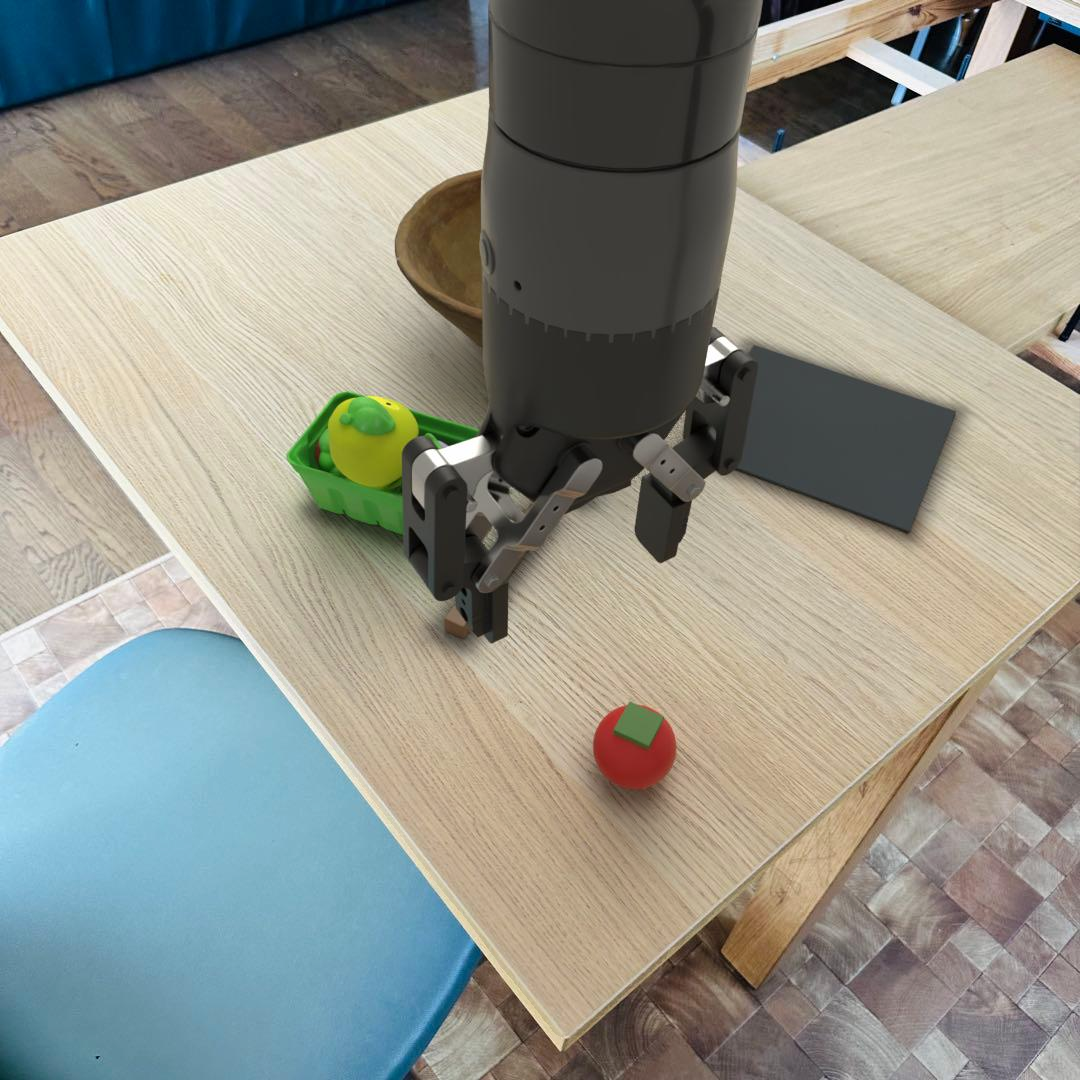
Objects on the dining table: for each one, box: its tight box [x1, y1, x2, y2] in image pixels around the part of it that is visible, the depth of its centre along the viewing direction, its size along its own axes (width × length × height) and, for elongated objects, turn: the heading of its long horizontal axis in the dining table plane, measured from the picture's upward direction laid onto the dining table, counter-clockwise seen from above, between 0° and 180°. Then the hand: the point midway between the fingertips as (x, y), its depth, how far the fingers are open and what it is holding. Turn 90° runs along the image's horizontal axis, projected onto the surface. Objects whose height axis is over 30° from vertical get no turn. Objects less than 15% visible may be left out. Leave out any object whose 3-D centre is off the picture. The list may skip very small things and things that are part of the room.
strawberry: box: [592, 701, 678, 791], centre depth 54 cm, size 4×4×4 cm
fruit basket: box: [285, 391, 479, 536], centre depth 64 cm, size 11×9×11 cm
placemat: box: [713, 344, 957, 534], centre depth 75 cm, size 16×14×1 cm
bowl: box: [394, 168, 483, 351], centre depth 77 cm, size 22×23×10 cm
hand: (574, 585), depth 44 cm, fingers open, 8 cm apart
